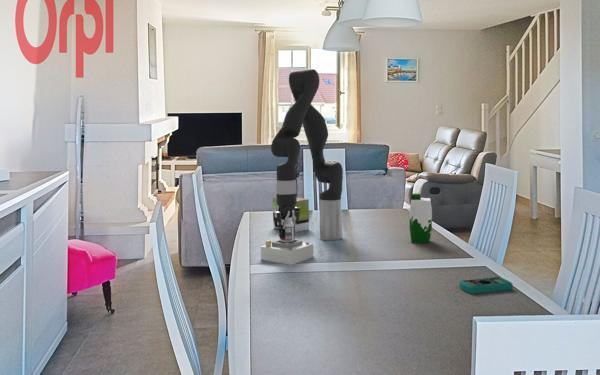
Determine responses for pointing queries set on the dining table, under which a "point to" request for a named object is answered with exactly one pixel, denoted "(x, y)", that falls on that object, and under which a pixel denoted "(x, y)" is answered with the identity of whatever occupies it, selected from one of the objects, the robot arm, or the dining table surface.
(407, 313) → the dining table surface
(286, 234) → the pill bottle
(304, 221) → the tea box
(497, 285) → the digital multimeter
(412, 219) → the milk carton
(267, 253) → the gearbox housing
